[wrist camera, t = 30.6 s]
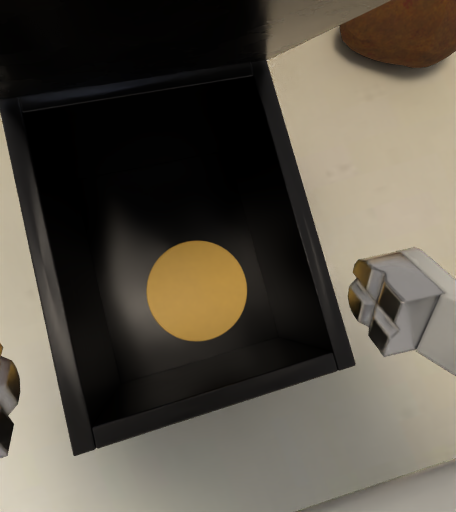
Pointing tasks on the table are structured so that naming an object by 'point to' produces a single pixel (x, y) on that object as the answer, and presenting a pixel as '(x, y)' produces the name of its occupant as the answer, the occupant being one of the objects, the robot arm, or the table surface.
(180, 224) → the black hinged chest
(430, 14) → the potato
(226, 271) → the brown jar with lid
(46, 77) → the black box lid
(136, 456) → the table surface
